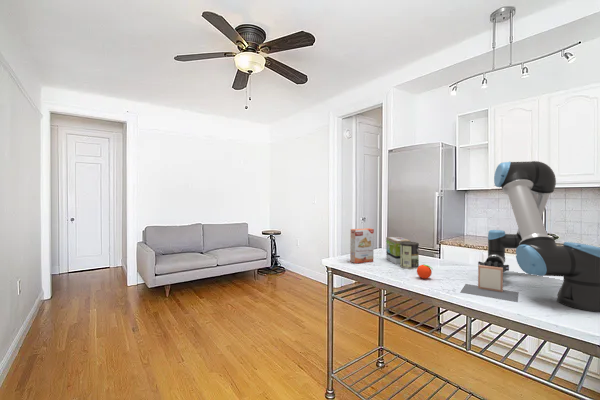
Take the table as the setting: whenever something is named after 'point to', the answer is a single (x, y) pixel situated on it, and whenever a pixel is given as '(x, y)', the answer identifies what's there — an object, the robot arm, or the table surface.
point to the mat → (490, 293)
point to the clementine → (424, 271)
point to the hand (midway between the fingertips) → (489, 272)
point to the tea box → (394, 248)
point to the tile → (490, 278)
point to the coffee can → (409, 255)
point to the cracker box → (362, 245)
